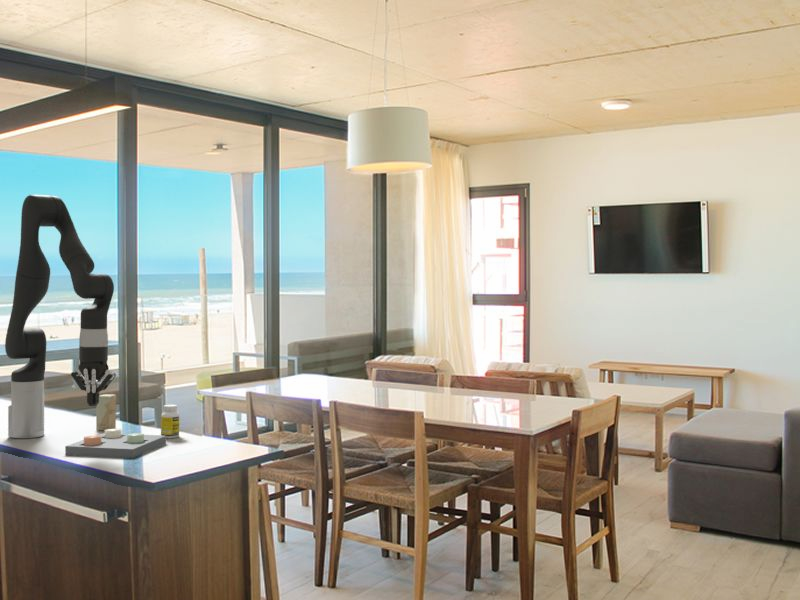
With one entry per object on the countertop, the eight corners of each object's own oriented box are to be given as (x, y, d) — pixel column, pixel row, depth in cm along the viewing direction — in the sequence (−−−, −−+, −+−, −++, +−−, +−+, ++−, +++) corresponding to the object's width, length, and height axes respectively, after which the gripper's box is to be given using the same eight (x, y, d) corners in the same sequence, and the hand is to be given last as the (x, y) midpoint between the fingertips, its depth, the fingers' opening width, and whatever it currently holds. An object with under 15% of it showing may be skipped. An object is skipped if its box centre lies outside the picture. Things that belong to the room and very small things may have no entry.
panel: (65, 454, 222) (65, 446, 222) (103, 440, 242) (103, 432, 242) (132, 458, 219) (132, 449, 219) (166, 443, 239) (166, 435, 238)
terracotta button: (80, 452, 224) (80, 438, 224) (89, 449, 228) (89, 435, 228) (95, 453, 223) (95, 438, 223) (104, 449, 228) (104, 435, 227)
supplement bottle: (174, 439, 246) (174, 407, 246) (157, 438, 247) (157, 406, 247) (182, 435, 251) (182, 404, 251) (166, 435, 252) (166, 403, 252)
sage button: (123, 450, 228) (123, 436, 227) (131, 446, 232) (132, 433, 232) (139, 450, 227) (139, 436, 227) (146, 447, 231) (146, 433, 231)
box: (108, 430, 258) (108, 396, 258) (95, 430, 259) (95, 396, 259) (116, 428, 263) (116, 394, 263) (104, 427, 264) (104, 393, 264)
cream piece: (101, 444, 235) (101, 431, 235) (109, 441, 239) (109, 428, 239) (116, 445, 234) (116, 431, 234) (124, 442, 238) (124, 429, 238)
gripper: (64, 344, 224) (63, 406, 225) (108, 346, 222) (107, 409, 222) (79, 342, 232) (79, 402, 232) (122, 344, 229) (121, 404, 230)
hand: (93, 405), depth 227 cm, fingers closed
